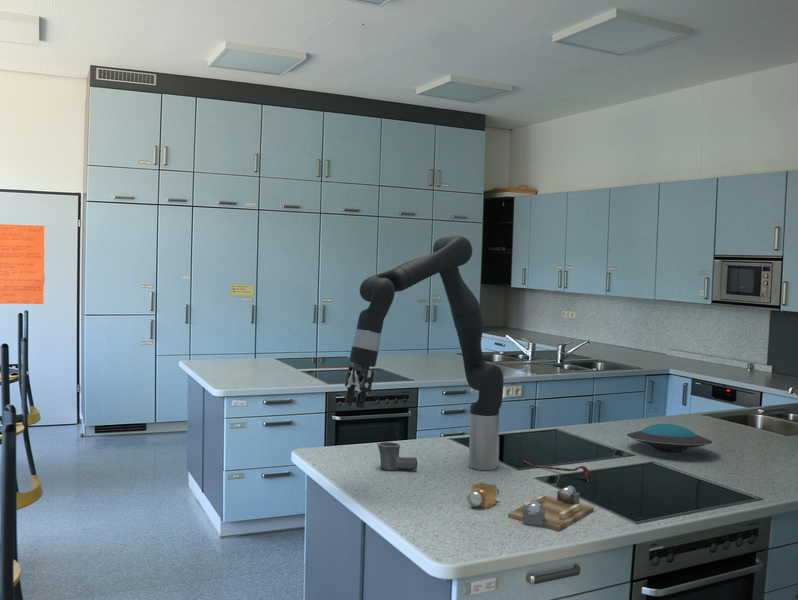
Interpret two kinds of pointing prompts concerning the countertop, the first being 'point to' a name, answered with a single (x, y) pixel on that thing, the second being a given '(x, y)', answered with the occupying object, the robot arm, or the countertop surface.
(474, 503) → the coupling
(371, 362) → the robot arm
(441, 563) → the countertop surface
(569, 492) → the shaft
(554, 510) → the wooden tray with rails
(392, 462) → the pipe
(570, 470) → the crowbar
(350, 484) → the countertop surface
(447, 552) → the countertop surface
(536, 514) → the shaft
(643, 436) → the decorative object
